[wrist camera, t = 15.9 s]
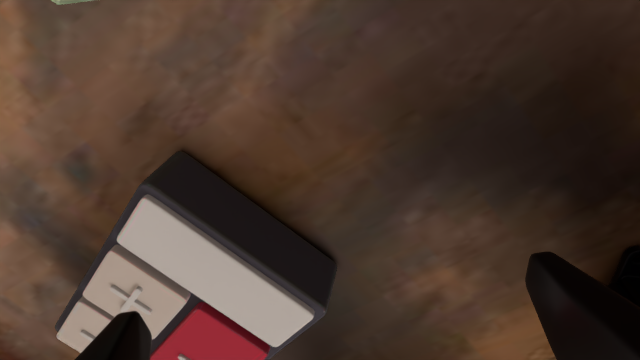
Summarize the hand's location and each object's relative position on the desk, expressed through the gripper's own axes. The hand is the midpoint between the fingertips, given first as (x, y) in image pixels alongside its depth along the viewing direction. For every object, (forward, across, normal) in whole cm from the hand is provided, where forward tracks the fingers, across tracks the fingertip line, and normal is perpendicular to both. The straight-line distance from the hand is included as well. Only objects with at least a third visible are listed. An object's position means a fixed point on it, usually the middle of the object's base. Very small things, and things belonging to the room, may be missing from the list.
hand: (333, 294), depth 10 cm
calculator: (+12, +9, +12) cm, 19 cm away
